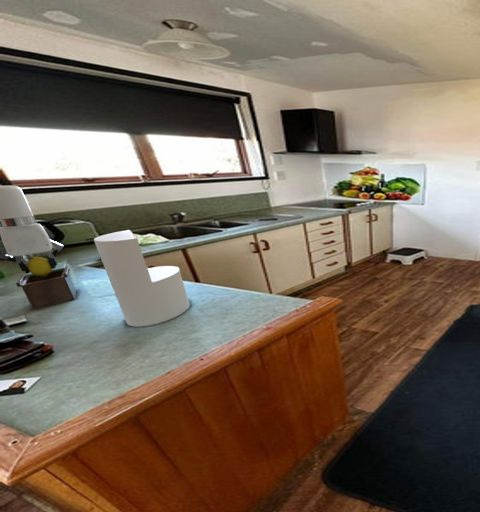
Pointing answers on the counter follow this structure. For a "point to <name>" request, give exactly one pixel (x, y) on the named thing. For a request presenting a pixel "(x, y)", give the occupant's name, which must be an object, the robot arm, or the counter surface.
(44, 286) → the storage box
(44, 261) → the lemon
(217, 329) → the counter surface
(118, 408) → the counter surface
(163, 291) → the white stepped drum
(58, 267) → the slide door
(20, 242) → the robot arm
